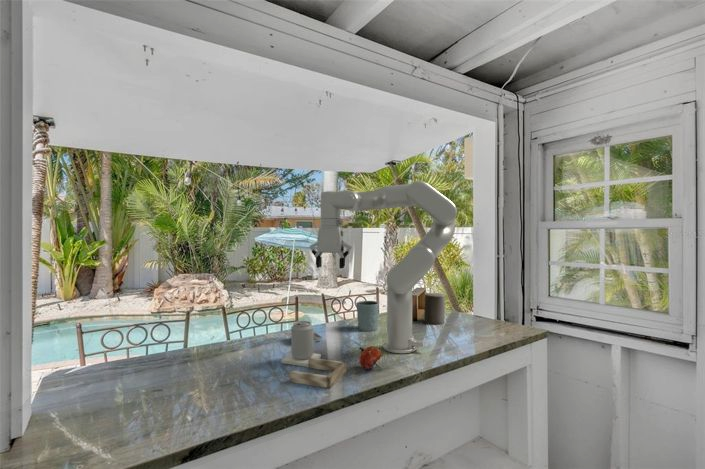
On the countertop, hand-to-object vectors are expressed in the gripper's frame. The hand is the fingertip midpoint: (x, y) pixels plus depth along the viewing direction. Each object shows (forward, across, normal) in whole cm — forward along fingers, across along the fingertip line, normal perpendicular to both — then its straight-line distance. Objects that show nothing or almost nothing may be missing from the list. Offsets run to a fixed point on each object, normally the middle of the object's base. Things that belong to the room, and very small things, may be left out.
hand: (330, 267), depth 143 cm
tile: (+30, +3, +18) cm, 35 cm away
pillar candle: (+31, -33, -51) cm, 68 cm away
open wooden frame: (+30, -9, +29) cm, 43 cm away
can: (+30, +3, +18) cm, 35 cm away
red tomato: (+31, -22, +17) cm, 41 cm away
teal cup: (+31, -6, -28) cm, 42 cm away
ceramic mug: (+31, +11, -2) cm, 33 cm away
